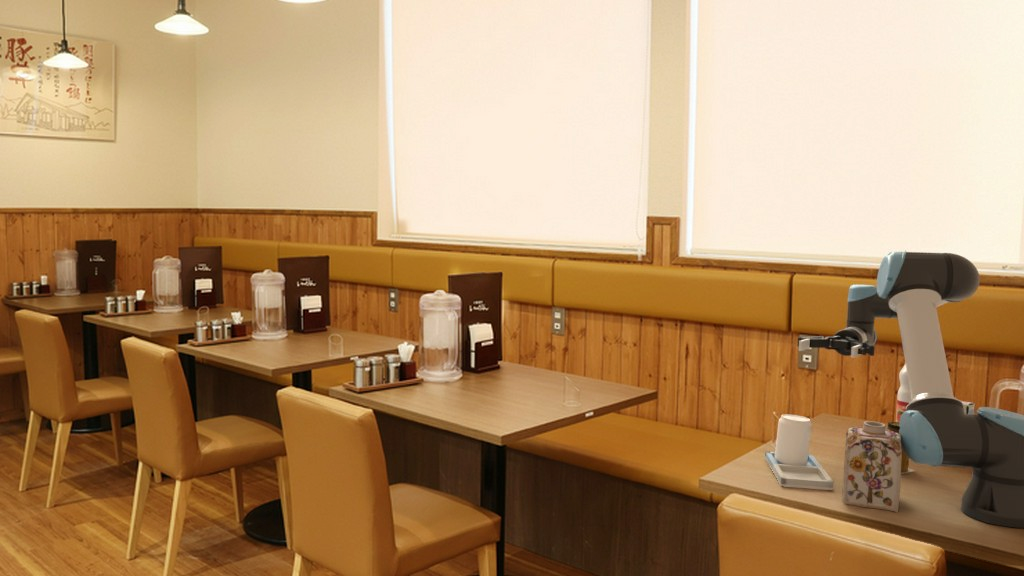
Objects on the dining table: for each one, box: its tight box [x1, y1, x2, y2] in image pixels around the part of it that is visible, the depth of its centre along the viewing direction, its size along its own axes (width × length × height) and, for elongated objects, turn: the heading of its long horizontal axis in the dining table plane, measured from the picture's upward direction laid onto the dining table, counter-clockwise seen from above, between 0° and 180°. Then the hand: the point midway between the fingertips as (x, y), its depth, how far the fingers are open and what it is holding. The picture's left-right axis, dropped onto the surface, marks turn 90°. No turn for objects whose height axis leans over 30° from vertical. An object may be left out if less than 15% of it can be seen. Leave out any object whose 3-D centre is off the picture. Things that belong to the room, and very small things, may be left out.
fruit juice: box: [895, 363, 912, 422], centre depth 243 cm, size 9×9×28 cm
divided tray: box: [764, 451, 834, 491], centre depth 209 cm, size 23×12×2 cm, turn 172°
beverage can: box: [774, 413, 813, 466], centre depth 214 cm, size 8×8×12 cm
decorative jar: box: [842, 420, 902, 512], centre depth 189 cm, size 12×12×18 cm
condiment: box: [886, 421, 916, 475], centre depth 215 cm, size 7×8×12 cm
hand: (825, 349), depth 219 cm, fingers open, 13 cm apart
